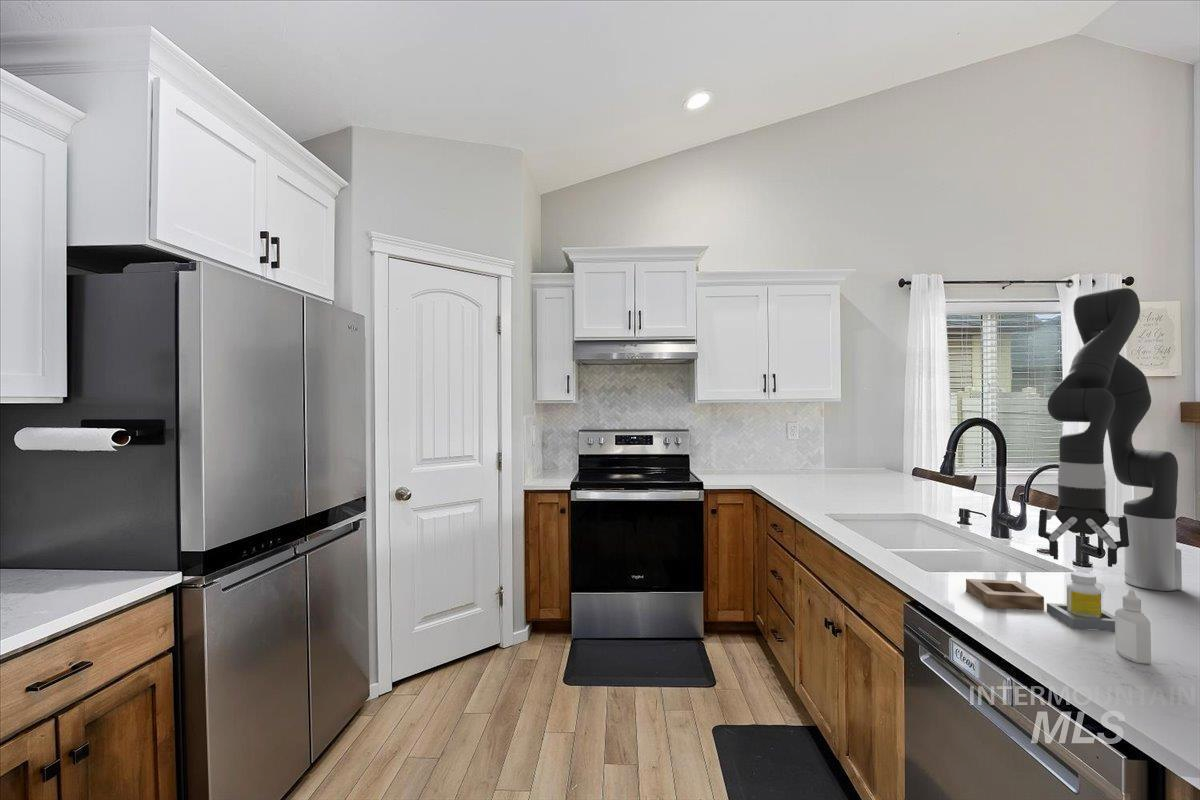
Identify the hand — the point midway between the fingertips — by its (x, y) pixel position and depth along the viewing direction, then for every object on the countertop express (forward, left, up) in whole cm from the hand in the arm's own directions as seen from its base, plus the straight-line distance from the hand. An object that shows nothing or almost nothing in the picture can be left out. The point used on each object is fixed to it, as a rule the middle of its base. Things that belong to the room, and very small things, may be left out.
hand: (1082, 562), depth 117 cm
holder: (0, 0, -12) cm, 12 cm away
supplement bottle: (0, 0, -13) cm, 13 cm away
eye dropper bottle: (+2, +17, -13) cm, 21 cm away
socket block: (+10, -11, -12) cm, 19 cm away
